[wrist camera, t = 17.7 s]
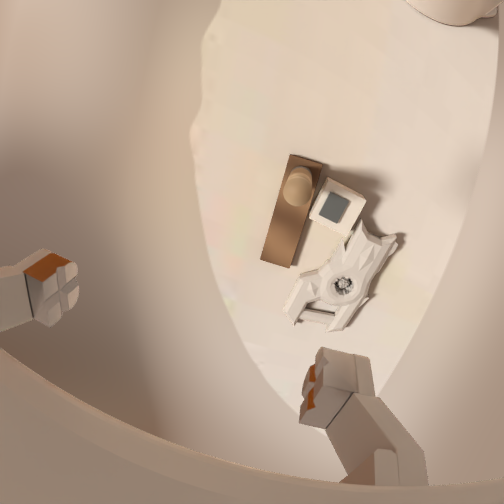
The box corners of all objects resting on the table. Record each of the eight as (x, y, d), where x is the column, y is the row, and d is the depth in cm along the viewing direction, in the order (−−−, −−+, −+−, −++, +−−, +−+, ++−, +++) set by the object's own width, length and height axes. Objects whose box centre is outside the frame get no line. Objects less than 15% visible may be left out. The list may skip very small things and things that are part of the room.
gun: (334, 211, 35) (406, 244, 35) (332, 202, 38) (400, 233, 38) (276, 325, 43) (339, 348, 43) (279, 311, 46) (338, 333, 46)
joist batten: (290, 154, 36) (289, 155, 35) (322, 164, 36) (322, 165, 35) (261, 256, 42) (259, 259, 41) (289, 265, 42) (289, 268, 41)
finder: (327, 176, 37) (328, 181, 34) (362, 194, 37) (367, 201, 34) (309, 211, 39) (309, 219, 36) (344, 228, 39) (346, 238, 36)
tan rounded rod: (293, 162, 36) (287, 174, 28) (314, 169, 35) (315, 183, 27) (287, 183, 37) (279, 201, 29) (308, 189, 37) (306, 209, 28)
